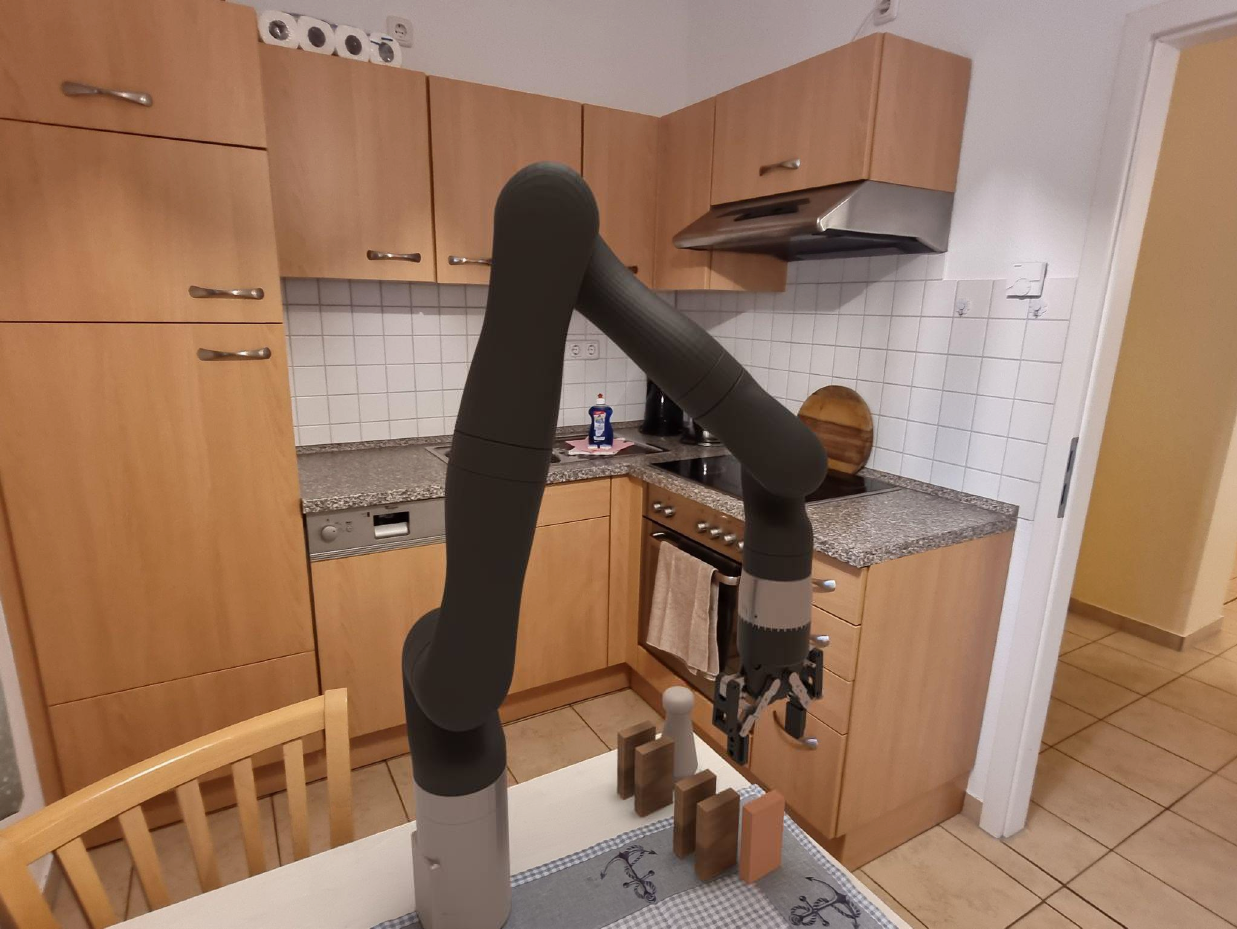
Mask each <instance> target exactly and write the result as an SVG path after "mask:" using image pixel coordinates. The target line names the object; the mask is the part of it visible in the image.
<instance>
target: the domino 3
mask: <svg viewBox="0 0 1237 929" xmlns="http://www.w3.org/2000/svg"><path fill="white" fill-rule="evenodd" d="M717 776H718V775H717V774H715V773H714V772H713V771H711V769H709V768H706V769H704V770H701V771H699V772H697V773H695V774H694V775H692V776H690V777H688V778H686V779H684V780H681V781H679V782H677V783H675V787H674V791H673V831H672V834H673V835H672V851H673V852H674V854H676V855H677V857H679V858H680V860H683V859H684V858H686V857H689V856H690V855H692V854H694V853H695V845H696V816H697V803H699V802H701V801H703V800H705V799H707V798H709V797H712V796H714V795H716V794H717V779H718V778H717Z"/></svg>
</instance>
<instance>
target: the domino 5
mask: <svg viewBox="0 0 1237 929" xmlns="http://www.w3.org/2000/svg"><path fill="white" fill-rule="evenodd" d="M785 803H786V796H784V795H783V794H782V793H781V792H779V791H778V790H776V788H775V789H772V790H770V791H768V792H766V793H764V794H762V795H761V796H759V797H757V798H755V799H753V800H750V801H749V802H747V803H745V804H743V805H742V807H741V808H742V809H741V825H740V828H741V829H740V848H739V849H740V850H739V866H738V867H739V868H738V869H739V870H738V876H739V877H740V878H741V879H742V880H744V882H745V883H746V884H747V885H751V884H753V883H754V882H756V881H757V880H759V879H761V878H763V877H764V876H766V875H768V874H769V873H771V872H773V871H774V870H776V869H778V868H780V867H781V865H782V851H783V833H784V821H785V805H786V804H785Z"/></svg>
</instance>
